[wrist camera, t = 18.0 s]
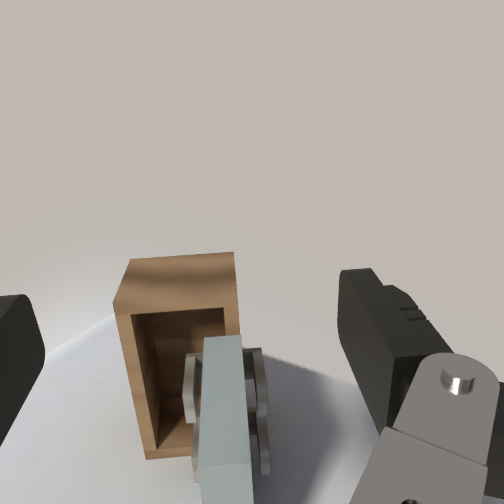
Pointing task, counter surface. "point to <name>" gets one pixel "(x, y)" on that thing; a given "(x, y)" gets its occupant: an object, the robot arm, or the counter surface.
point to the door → (224, 425)
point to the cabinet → (181, 348)
